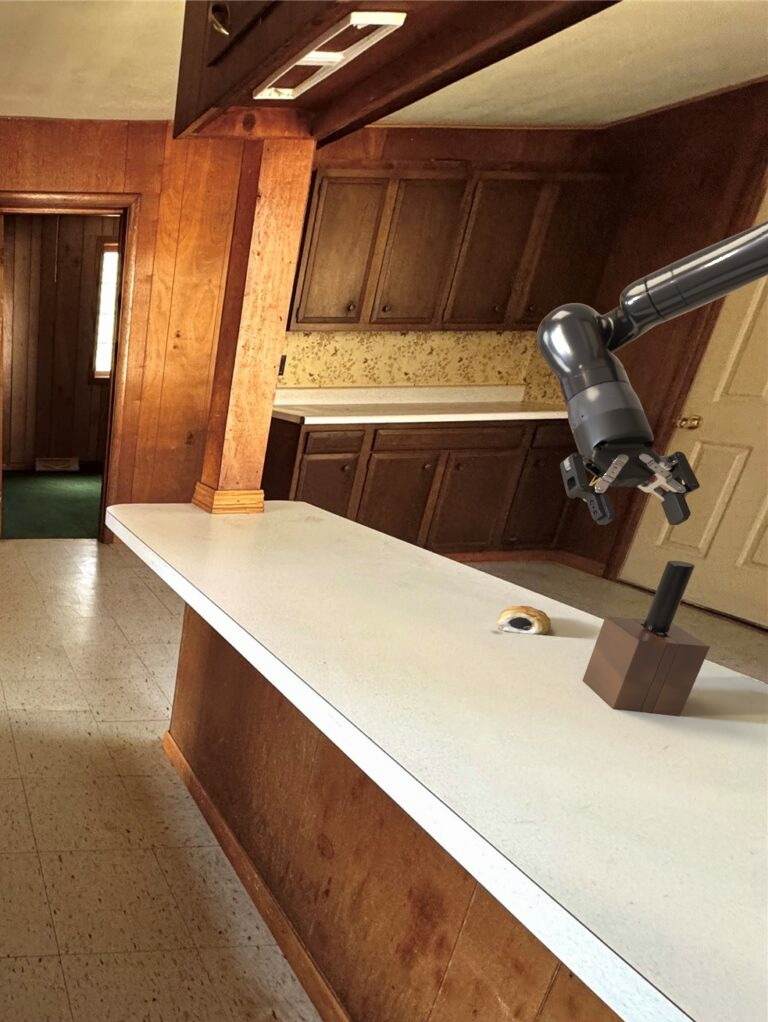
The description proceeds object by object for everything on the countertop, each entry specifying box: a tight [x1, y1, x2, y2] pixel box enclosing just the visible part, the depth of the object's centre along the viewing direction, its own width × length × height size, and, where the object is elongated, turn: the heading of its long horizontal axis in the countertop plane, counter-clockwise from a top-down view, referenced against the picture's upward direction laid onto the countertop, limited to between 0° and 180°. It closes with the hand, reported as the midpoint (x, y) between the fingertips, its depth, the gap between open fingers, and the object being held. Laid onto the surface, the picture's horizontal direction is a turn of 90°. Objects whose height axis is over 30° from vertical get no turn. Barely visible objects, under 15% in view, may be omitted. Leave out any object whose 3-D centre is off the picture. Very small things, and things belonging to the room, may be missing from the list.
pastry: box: [496, 605, 552, 636], centre depth 112 cm, size 9×7×4 cm
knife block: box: [582, 615, 711, 717], centre depth 88 cm, size 7×8×11 cm
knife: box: [643, 560, 696, 637], centre depth 86 cm, size 2×3×19 cm
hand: (643, 522), depth 88 cm, fingers open, 8 cm apart
